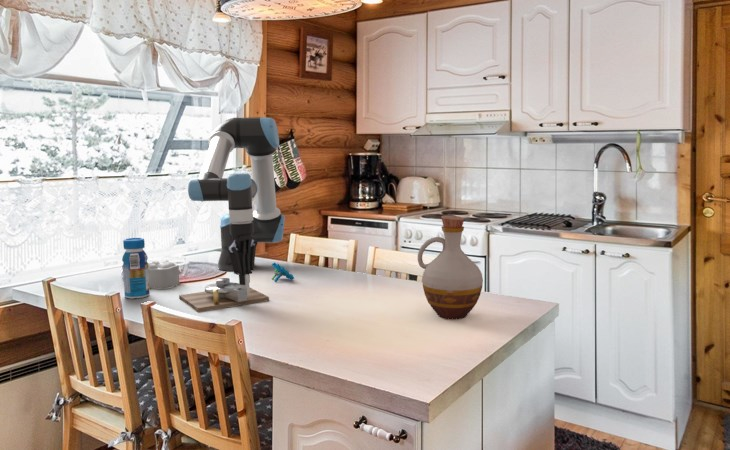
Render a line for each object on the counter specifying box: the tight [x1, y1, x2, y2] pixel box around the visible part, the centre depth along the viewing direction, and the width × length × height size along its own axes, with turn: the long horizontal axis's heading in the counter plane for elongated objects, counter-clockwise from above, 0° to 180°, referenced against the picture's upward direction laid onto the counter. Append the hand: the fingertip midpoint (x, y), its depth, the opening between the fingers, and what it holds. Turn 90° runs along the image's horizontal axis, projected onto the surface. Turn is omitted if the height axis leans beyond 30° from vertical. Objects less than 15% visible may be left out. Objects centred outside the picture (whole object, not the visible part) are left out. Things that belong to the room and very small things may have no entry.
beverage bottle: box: [121, 237, 151, 300], centre depth 207 cm, size 8×8×20 cm
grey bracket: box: [204, 277, 246, 302], centre depth 199 cm, size 19×12×5 cm, turn 40°
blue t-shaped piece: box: [271, 262, 295, 283], centre depth 229 cm, size 11×6×10 cm
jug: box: [417, 215, 484, 321], centre depth 179 cm, size 20×18×30 cm
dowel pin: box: [213, 290, 219, 305], centre depth 192 cm, size 2×2×4 cm
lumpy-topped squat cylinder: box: [147, 260, 180, 290], centre depth 225 cm, size 10×13×9 cm
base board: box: [178, 287, 270, 313], centre depth 202 cm, size 20×24×3 cm
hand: (245, 293), depth 196 cm, fingers closed
